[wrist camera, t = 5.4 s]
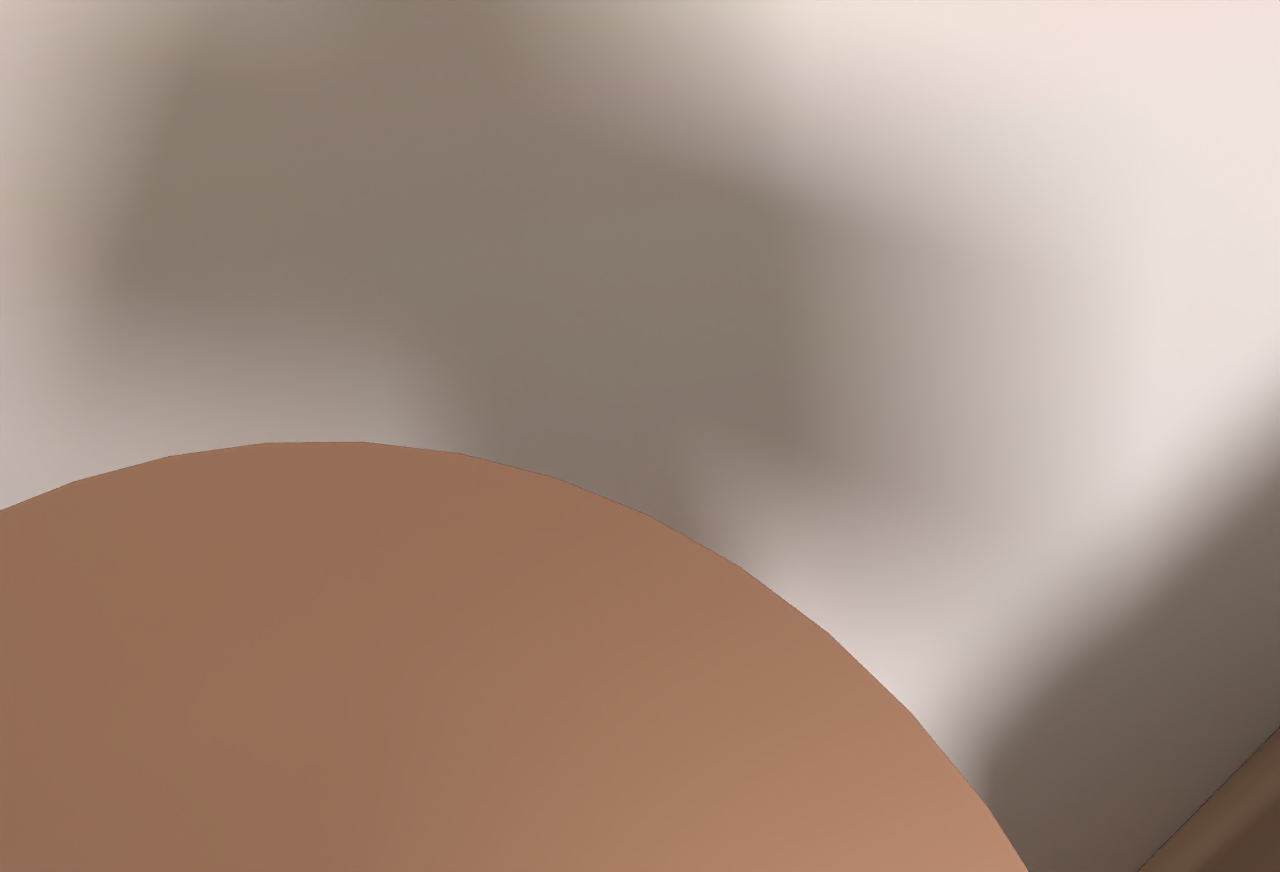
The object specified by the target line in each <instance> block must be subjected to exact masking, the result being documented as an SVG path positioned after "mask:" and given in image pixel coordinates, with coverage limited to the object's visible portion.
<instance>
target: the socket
mask: <svg viewBox="0 0 1280 872" xmlns="http://www.w3.org/2000/svg"><path fill="white" fill-rule="evenodd" d="M1138 872H1280V728H1279V729H1278V730H1277V731H1276V732H1275V733H1274V734H1273V735H1272V736H1271V737H1270V738H1269V739H1268V740H1267V741H1266V742H1265V743H1264V744H1263V745H1262V746H1261V747H1260V748H1259V749H1258V750H1257V751H1256V752H1255V753H1254V754H1253V755H1252V756H1251V757H1250V758H1249V759H1248V760H1247V761H1246V762H1245V763H1244V764H1243V765H1242V766H1241V767H1240V768H1239V769H1238V770H1237V771H1236V772H1235V773H1234V774H1233V775H1232V776H1231V777H1230V778H1229V779H1228V780H1227V781H1226V782H1225V783H1224V784H1223V785H1222V786H1221V787H1220V788H1219V789H1218V790H1217V791H1216V792H1215V793H1214V794H1213V795H1212V796H1211V797H1210V798H1209V800H1208V801H1207V802H1206V803H1205V804H1204V805H1203V806H1202V807H1201V808H1200V809H1199V810H1198V811H1197V812H1196V813H1195V814H1194V815H1193V816H1192V817H1191V818H1190V819H1189V820H1188V821H1187V822H1186V823H1185V824H1184V825H1183V826H1182V827H1181V828H1180V829H1179V830H1178V831H1177V832H1176V833H1175V834H1174V835H1173V836H1172V837H1171V838H1170V839H1169V840H1168V841H1167V842H1166V843H1165V844H1164V845H1163V846H1162V847H1161V848H1160V849H1159V850H1158V851H1157V852H1156V853H1155V854H1154V855H1153V856H1152V857H1151V858H1150V859H1149V860H1148V861H1147V862H1146V863H1145V864H1144V865H1143V866H1142V867H1141V868H1140V869H1139V871H1138Z"/></svg>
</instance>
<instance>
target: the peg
mask: <svg viewBox="0 0 1280 872" xmlns="http://www.w3.org/2000/svg"><path fill="white" fill-rule="evenodd" d="M0 872H1029V871H1028V869H1027V868H1026V866H1025V865H1024V863H1023V861H1022V860H1021V858H1020V857H1019V855H1018V854H1017V852H1016V850H1015V849H1014V847H1013V846H1012V844H1011V843H1010V841H1009V839H1008V838H1007V836H1006V835H1005V833H1004V832H1003V830H1002V828H1001V827H1000V825H999V824H998V822H997V820H996V819H995V817H994V816H993V814H992V813H991V811H990V809H989V808H988V807H987V805H986V804H985V803H984V802H983V800H982V799H981V798H980V797H979V796H978V794H977V793H976V792H975V791H974V789H973V788H972V787H971V786H970V784H969V783H968V782H967V781H966V780H965V778H964V777H963V776H962V775H961V773H960V772H959V771H958V770H957V768H956V767H955V766H954V765H953V764H952V762H951V761H950V760H949V759H948V757H947V756H946V755H945V754H944V752H943V751H942V750H941V749H940V748H939V746H938V745H937V744H936V743H935V741H934V740H933V739H932V738H931V736H930V735H929V734H928V733H927V732H926V730H925V729H924V728H923V727H922V725H921V724H920V723H919V722H918V721H917V719H916V718H915V717H914V716H913V714H912V713H911V712H910V711H909V710H908V709H907V708H906V707H905V706H904V705H903V704H902V703H901V702H900V701H898V700H897V699H896V698H895V697H894V696H893V695H892V694H891V693H890V692H889V691H888V690H887V689H886V688H885V687H884V686H883V685H882V684H881V683H880V682H879V681H878V680H877V679H876V678H875V677H874V676H873V675H871V674H870V673H869V672H868V671H867V670H866V669H865V668H864V667H863V666H862V665H861V664H860V663H859V662H858V661H857V660H856V659H855V658H854V657H853V656H852V655H851V654H850V653H849V652H848V651H847V650H846V649H844V648H843V647H842V646H841V645H840V644H839V643H838V642H837V641H836V640H835V639H834V638H833V637H832V636H831V635H830V634H829V633H828V632H827V631H825V630H824V629H822V628H821V627H820V626H818V625H817V624H816V623H814V622H813V621H812V620H810V619H809V618H808V617H806V616H805V615H804V614H802V613H801V612H800V611H798V610H797V609H796V608H794V607H793V606H792V605H790V604H789V603H788V602H786V601H785V600H784V599H782V598H781V597H780V596H778V595H777V594H776V593H774V592H773V591H772V590H770V589H769V588H768V587H766V586H765V585H764V584H762V583H761V582H760V581H758V580H757V579H756V578H754V577H753V576H752V575H750V574H749V573H747V572H746V571H745V570H743V569H742V568H741V567H739V566H737V565H736V564H734V563H732V562H730V561H729V560H727V559H725V558H723V557H721V556H720V555H718V554H716V553H714V552H713V551H711V550H709V549H707V548H705V547H704V546H702V545H700V544H698V543H697V542H695V541H693V540H691V539H689V538H688V537H686V536H684V535H682V534H681V533H679V532H677V531H675V530H674V529H672V528H670V527H668V526H666V525H665V524H663V523H661V522H659V521H658V520H656V519H654V518H652V517H650V516H649V515H646V514H644V513H641V512H639V511H636V510H634V509H631V508H629V507H626V506H624V505H621V504H619V503H616V502H614V501H611V500H609V499H606V498H604V497H601V496H599V495H596V494H594V493H591V492H589V491H586V490H584V489H581V488H579V487H576V486H574V485H571V484H569V483H567V482H564V481H562V480H559V479H557V478H553V477H550V476H546V475H542V474H538V473H534V472H530V471H526V470H522V469H518V468H514V467H510V466H507V465H503V464H499V463H495V462H491V461H487V460H483V459H479V458H475V457H471V456H468V455H464V454H460V453H451V452H443V451H435V450H426V449H418V448H410V447H401V446H393V445H385V444H377V443H368V442H303V443H262V444H254V445H247V446H240V447H233V448H225V449H218V450H211V451H204V452H196V453H189V454H182V455H174V456H168V457H165V458H161V459H157V460H153V461H149V462H146V463H142V464H138V465H134V466H131V467H127V468H123V469H119V470H116V471H112V472H108V473H104V474H100V475H97V476H93V477H89V478H85V479H82V480H78V481H74V482H71V483H69V484H66V485H64V486H61V487H59V488H56V489H54V490H51V491H49V492H46V493H44V494H41V495H39V496H36V497H34V498H31V499H28V500H26V501H23V502H21V503H18V504H16V505H13V506H11V507H8V508H6V509H3V510H1V511H0Z"/></svg>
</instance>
